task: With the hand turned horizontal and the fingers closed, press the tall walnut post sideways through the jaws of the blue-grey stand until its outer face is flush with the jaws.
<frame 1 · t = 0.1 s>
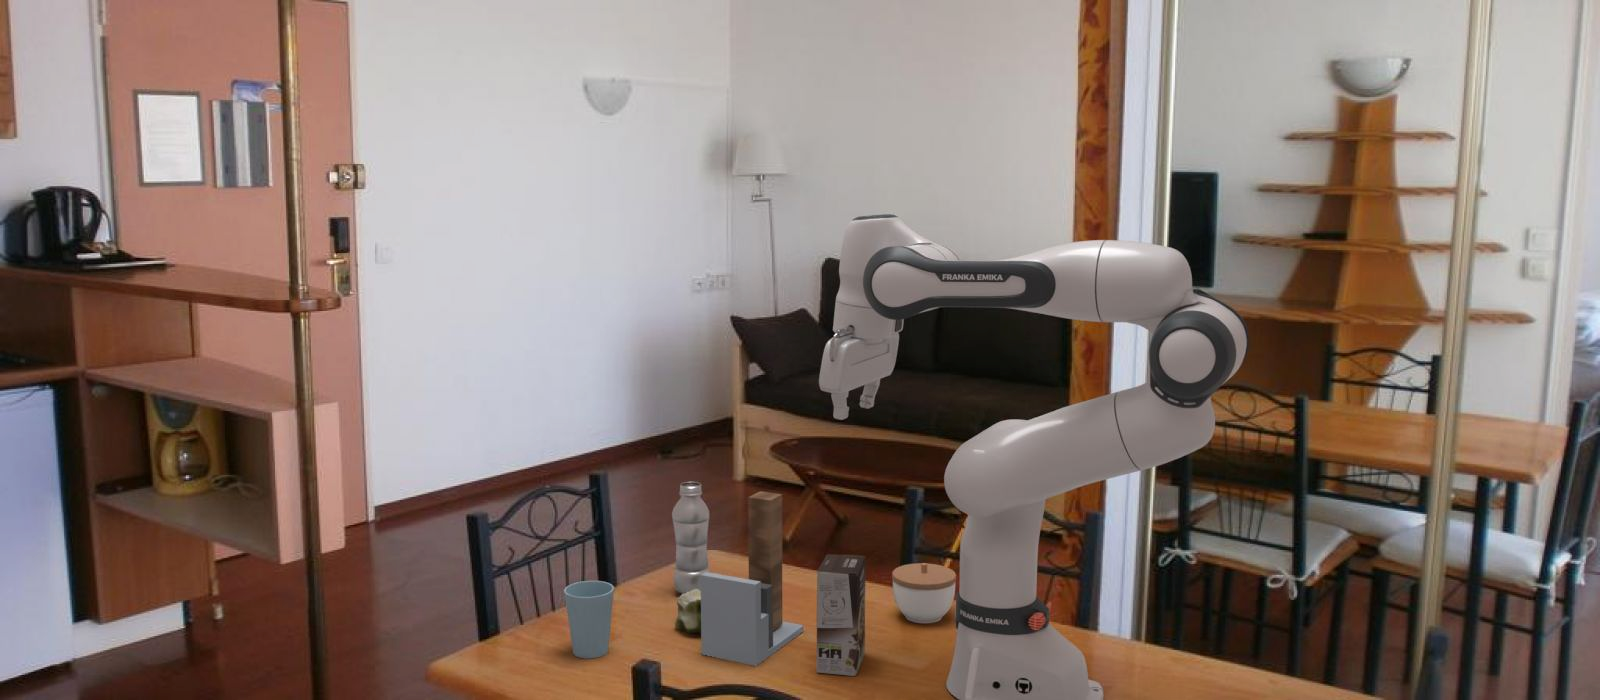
hand: (853, 412, 188), 39 cm above the table, tool pointing down, fingers open, 8 cm apart
coffee box: (841, 664, 193), on the table
plastic bottle: (692, 594, 224), on the table
cup: (590, 653, 197), on the table
blue-grey stand: (735, 655, 196), on the table
lidded jar: (923, 618, 212), on the table
peg: (765, 561, 202), point 12 cm above the table, slide at 8.0 cm
rock: (699, 630, 207), on the table
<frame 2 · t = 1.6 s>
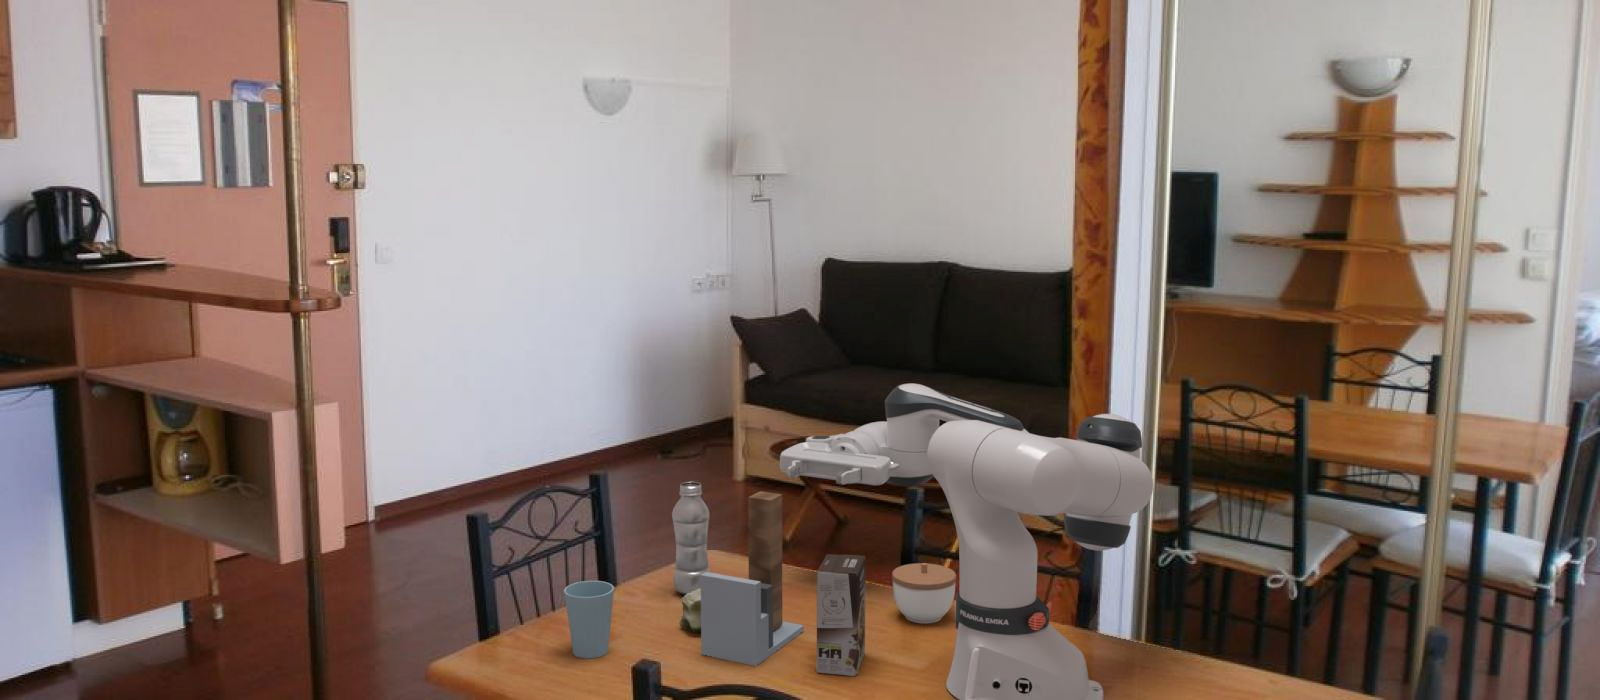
hand: (815, 476, 216), 23 cm above the table, tool horizontal, fingers open, 8 cm apart
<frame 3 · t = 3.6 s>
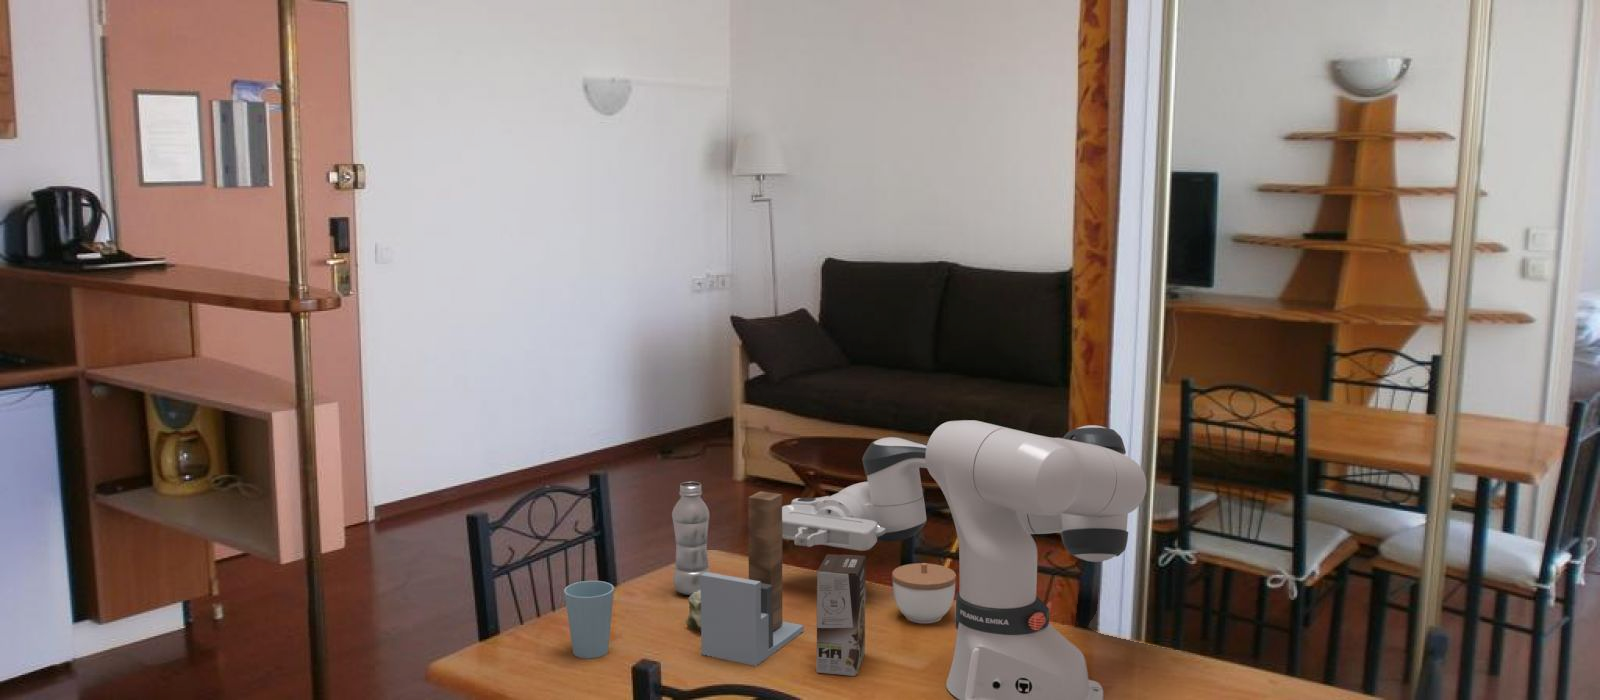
hand: (801, 541, 214), 12 cm above the table, tool horizontal, fingers closed
rock: (711, 628, 208), on the table
everything else where it was.
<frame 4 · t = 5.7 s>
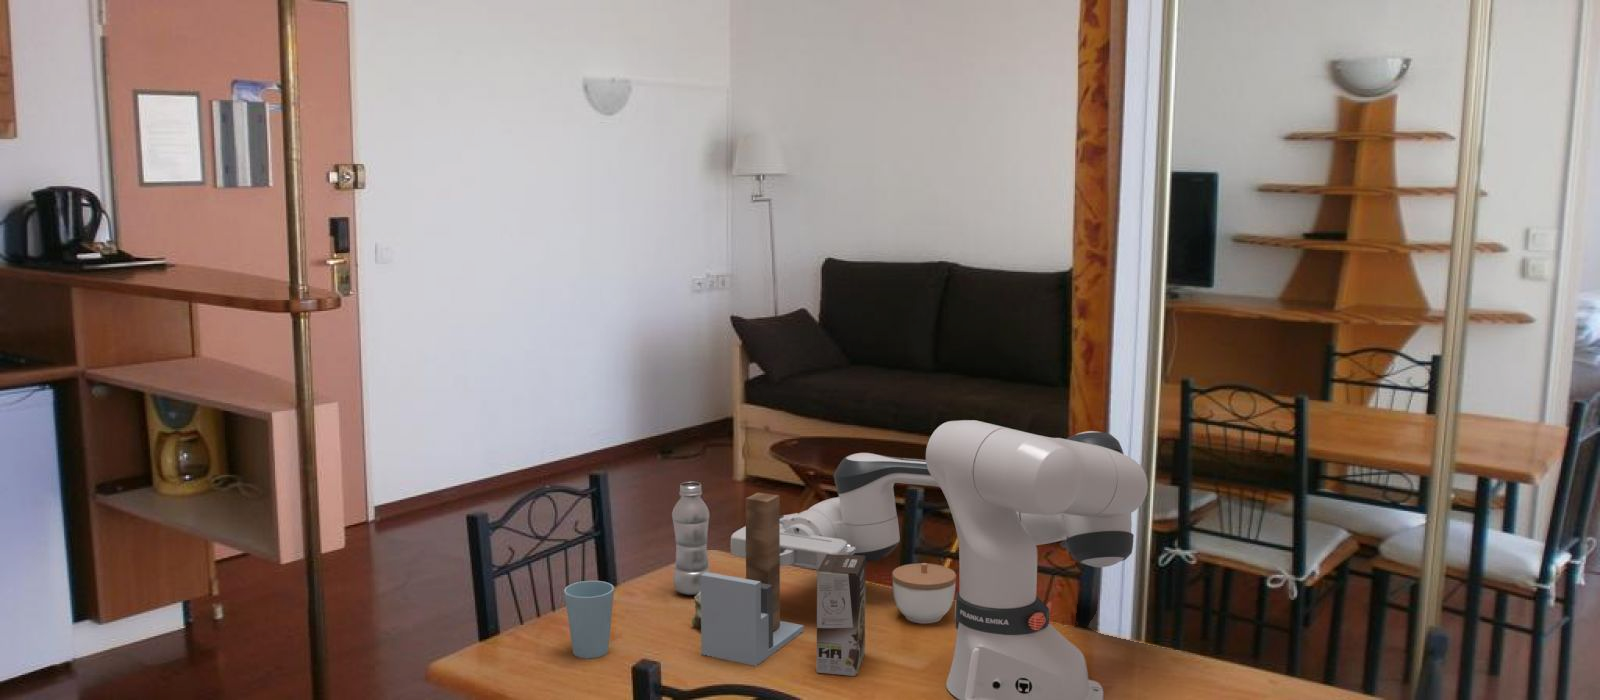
hand: (767, 562, 204), 12 cm above the table, tool horizontal, fingers closed, pressing on peg
peg: (762, 563, 202), point 12 cm above the table, slide at 7.1 cm, touching gripper
rock: (717, 627, 208), on the table
everything else where it was.
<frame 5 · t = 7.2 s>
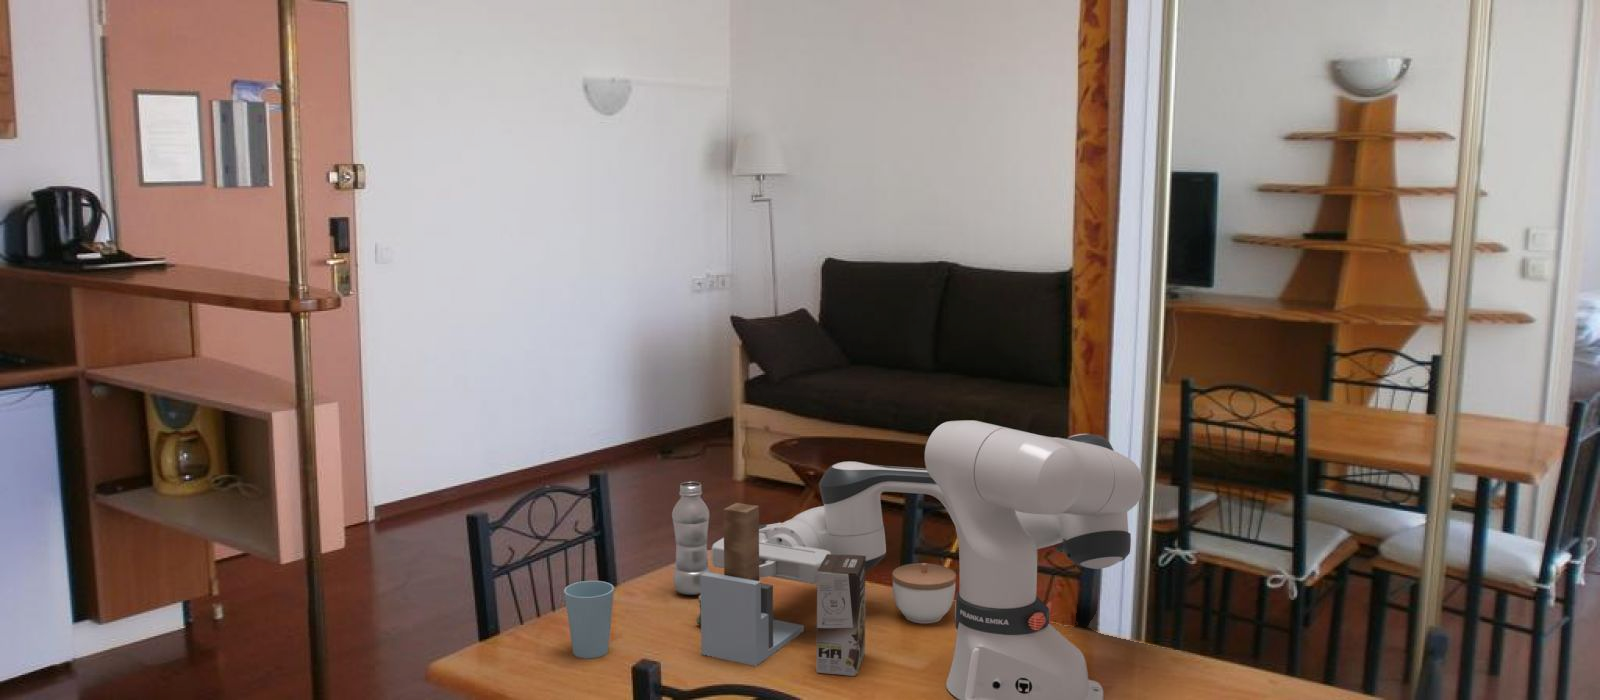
hand: (747, 573, 198), 12 cm above the table, tool horizontal, fingers closed, pressing on peg
peg: (741, 575, 196), point 12 cm above the table, slide at 0.3 cm, touching gripper
rock: (721, 627, 208), on the table, touching blue-grey stand
everything else where it was.
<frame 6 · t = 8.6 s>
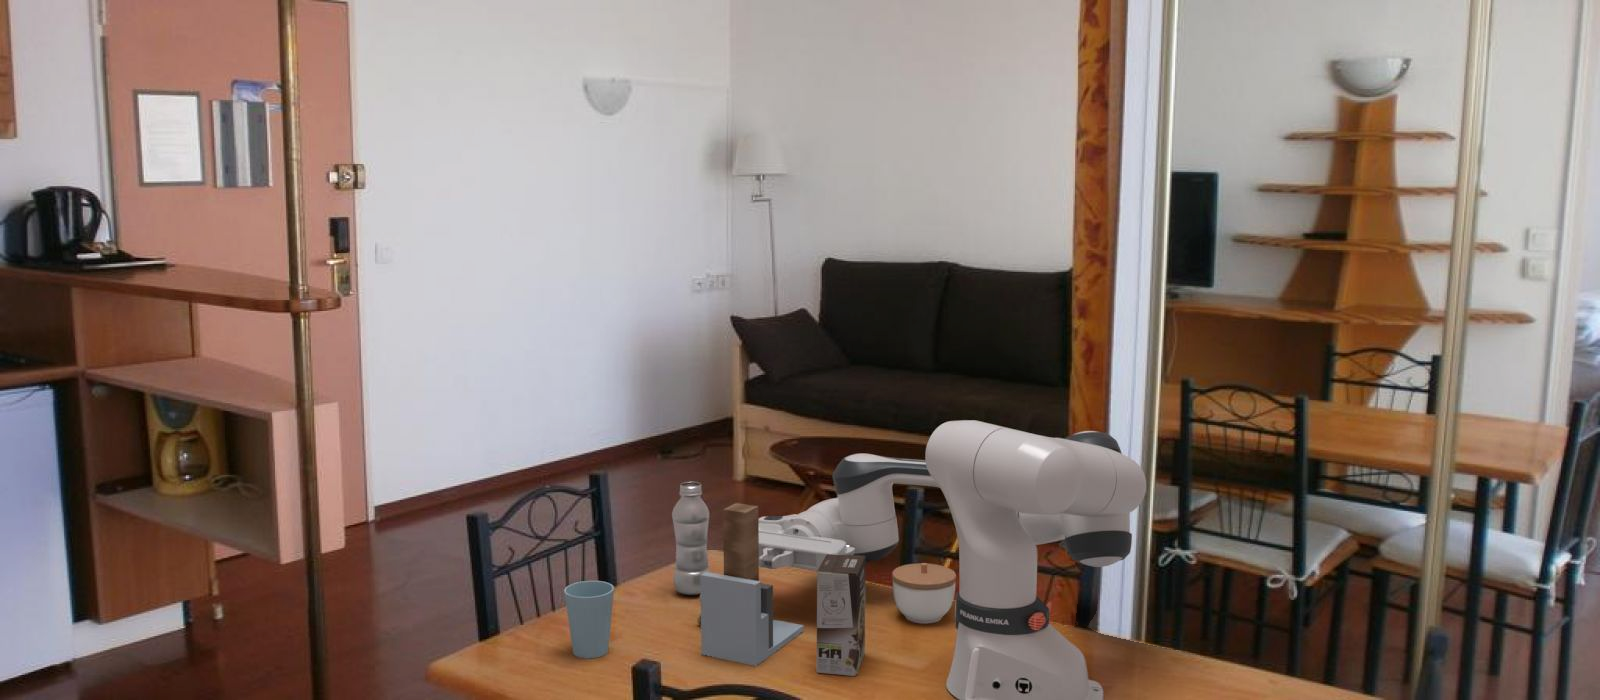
hand: (766, 563, 204), 11 cm above the table, tool horizontal, fingers closed
peg: (741, 576, 196), point 12 cm above the table, slide at 0.2 cm
rock: (722, 626, 209), on the table
everything else where it was.
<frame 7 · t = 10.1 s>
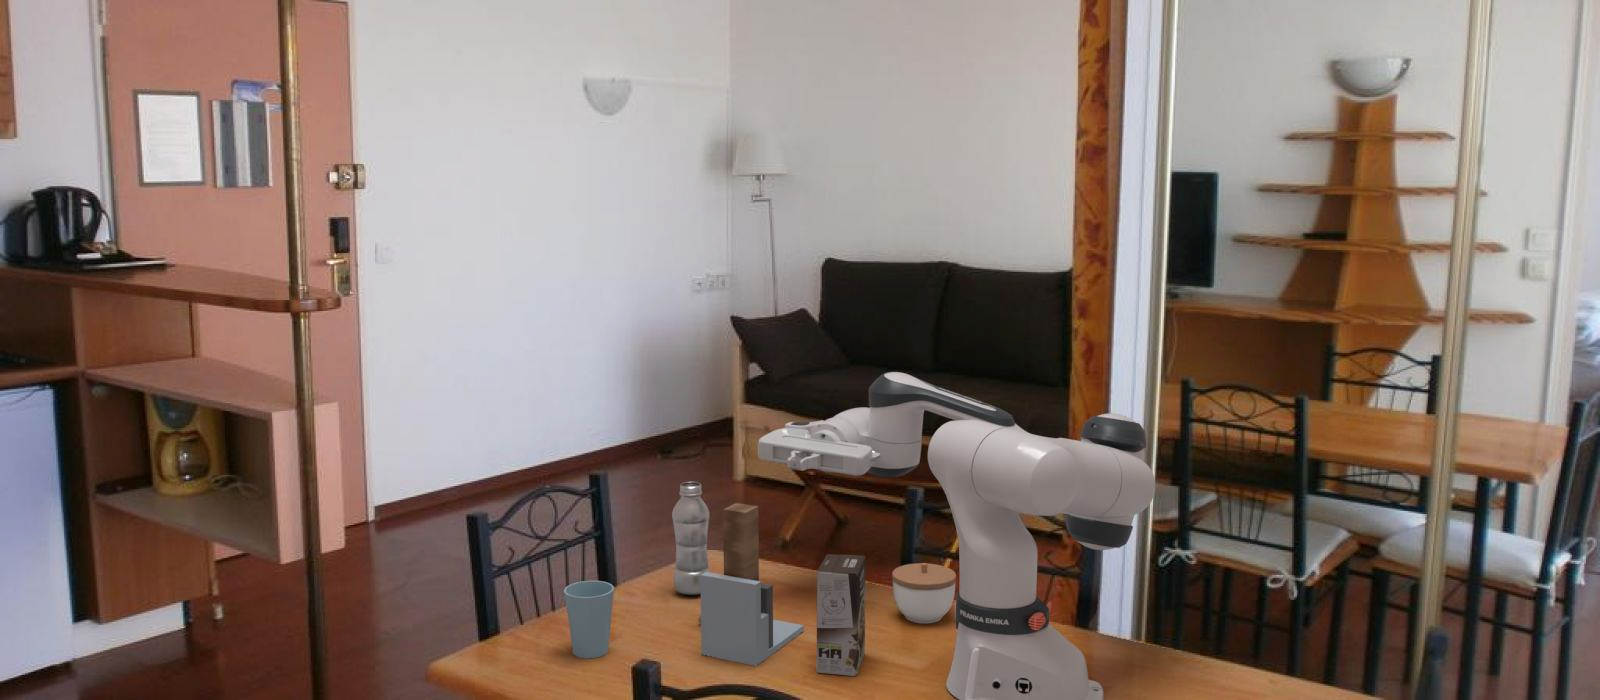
hand: (794, 465, 209), 26 cm above the table, tool horizontal, fingers closed
rock: (723, 625, 209), on the table, touching blue-grey stand
everything else where it was.
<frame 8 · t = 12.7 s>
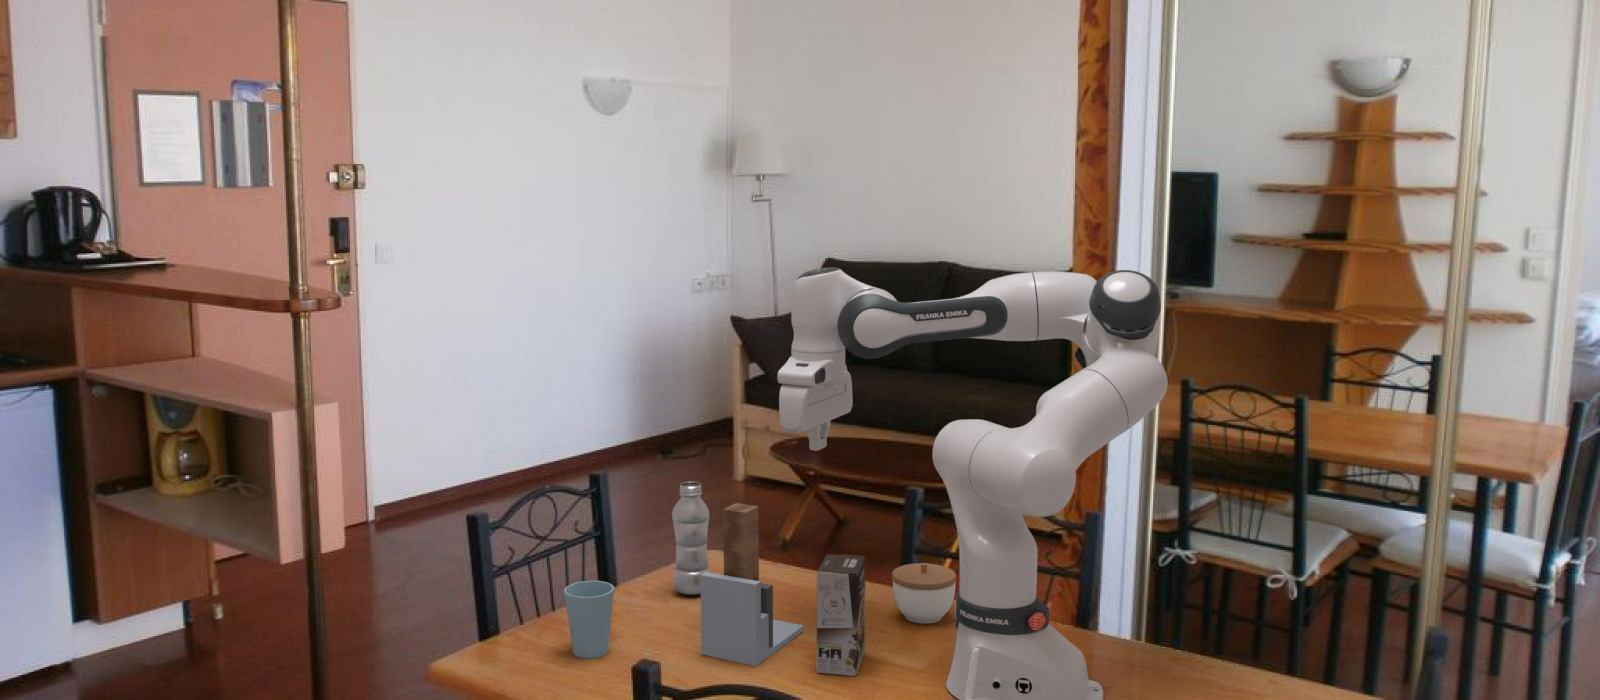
hand: (818, 448, 208), 29 cm above the table, tool pointing down, fingers closed
rock: (725, 624, 210), on the table
everything else where it was.
at the end: peg slide at 0.2 cm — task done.
